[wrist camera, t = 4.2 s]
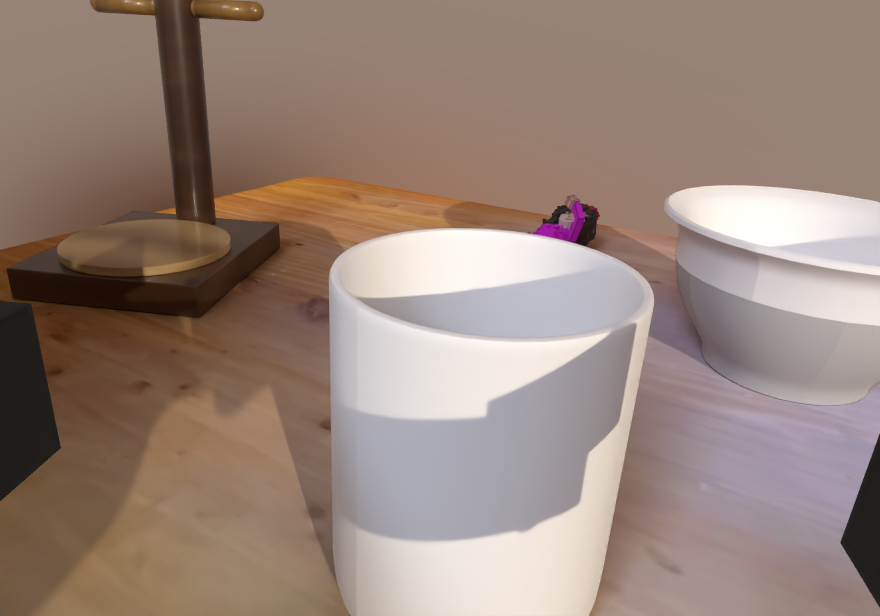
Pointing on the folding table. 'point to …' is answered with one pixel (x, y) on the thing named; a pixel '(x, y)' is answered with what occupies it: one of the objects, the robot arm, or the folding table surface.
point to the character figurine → (571, 222)
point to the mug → (479, 420)
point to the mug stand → (158, 234)
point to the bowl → (782, 288)
